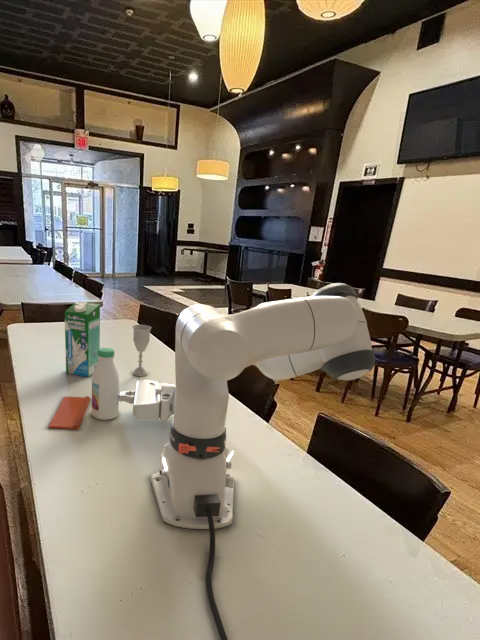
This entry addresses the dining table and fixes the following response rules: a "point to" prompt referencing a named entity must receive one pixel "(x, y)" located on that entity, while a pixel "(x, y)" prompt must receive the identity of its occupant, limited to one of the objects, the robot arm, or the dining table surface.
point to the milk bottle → (105, 386)
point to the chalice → (141, 345)
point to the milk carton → (82, 338)
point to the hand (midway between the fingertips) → (118, 396)
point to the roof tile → (70, 413)
